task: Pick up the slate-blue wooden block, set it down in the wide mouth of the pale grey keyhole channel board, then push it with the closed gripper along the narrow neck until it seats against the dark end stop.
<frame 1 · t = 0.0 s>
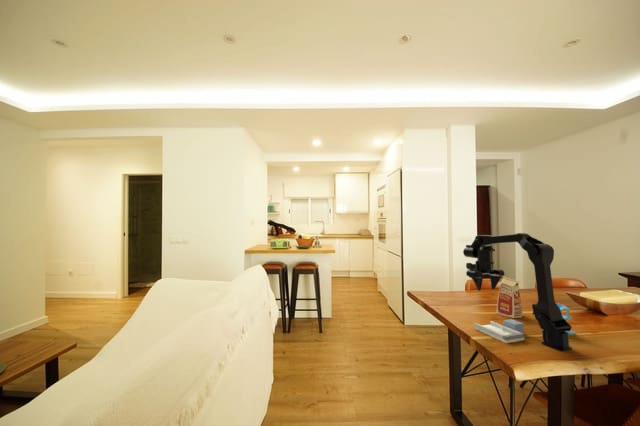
hand: (486, 289, 119), 15 cm above the table, fingers open, 9 cm apart
block: (513, 332, 104), on the table
board: (498, 334, 101), on the table
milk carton: (511, 315, 124), on the table
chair: (558, 332, 104), on the table
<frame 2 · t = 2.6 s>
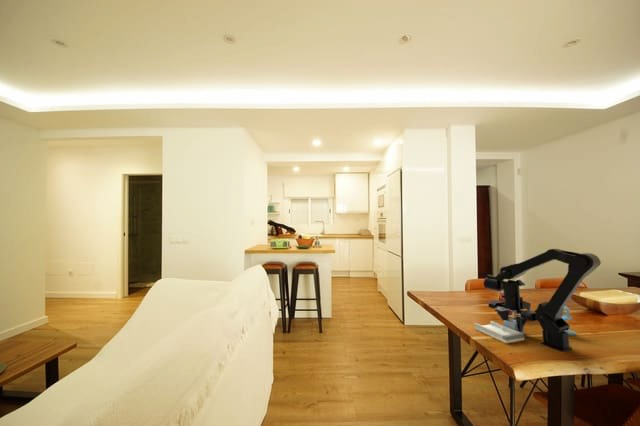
hand: (513, 329, 104), 1 cm above the table, fingers closed on block, 5 cm apart
block: (513, 331, 104), on the table, touching gripper
everything else where it was.
when the fingers open (3 cm above the table, at t = 5.9 s): block drops 1 cm, resting on board.
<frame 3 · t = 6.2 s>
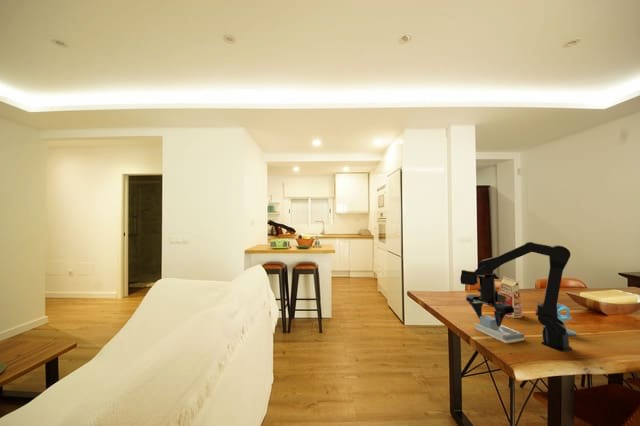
hand: (489, 322, 105), 3 cm above the table, fingers open, 8 cm apart
block: (489, 328, 105), point 1 cm above the table, touching board
everything else where it was.
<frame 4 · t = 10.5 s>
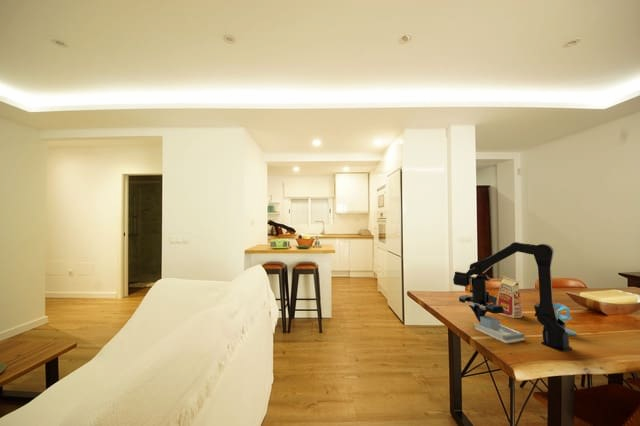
hand: (480, 322, 110), 2 cm above the table, fingers closed
block: (489, 328, 105), point 1 cm above the table, touching board, gripper
everything else where it was.
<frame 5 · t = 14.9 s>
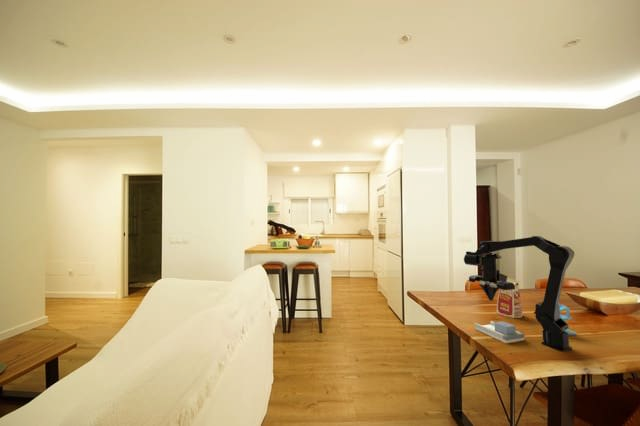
hand: (491, 300, 110), 12 cm above the table, fingers closed
block: (505, 335, 98), point 1 cm above the table, touching board
everything else where it was.
at the end: block 0.3 cm from the target spot on the board, point 1.0 cm above the board's base; block tilted 0°; the gripper is holding nothing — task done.
